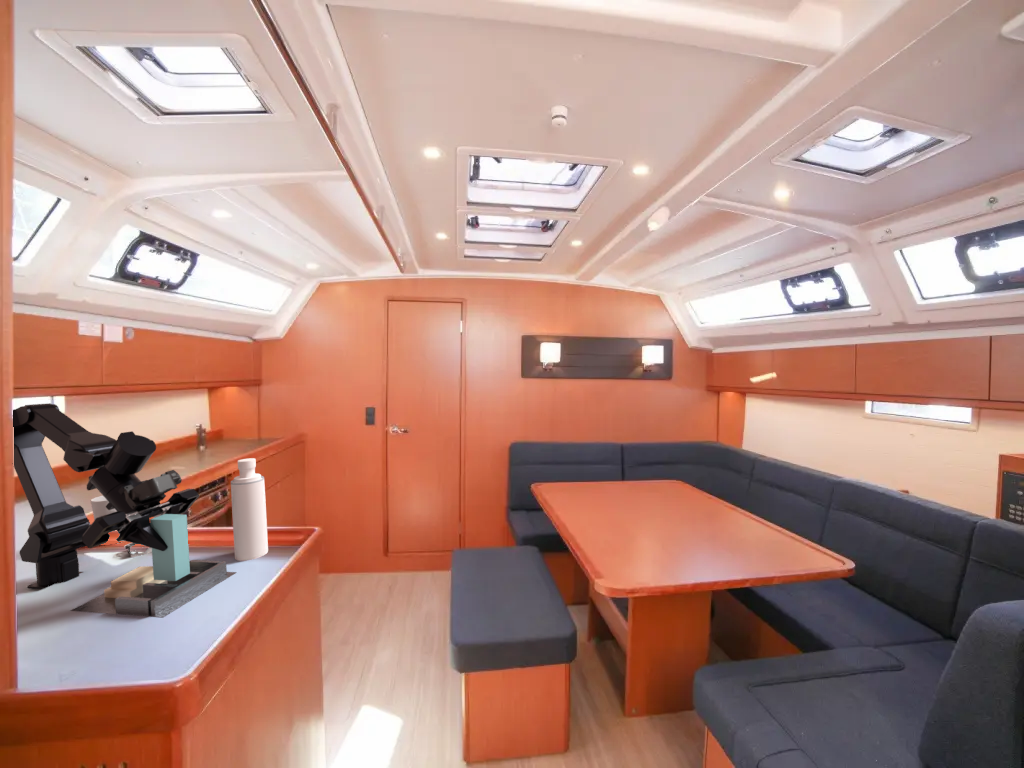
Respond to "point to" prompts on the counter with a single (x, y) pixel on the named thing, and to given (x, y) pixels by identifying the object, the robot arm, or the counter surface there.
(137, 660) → the counter surface
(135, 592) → the lower offcut
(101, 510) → the cup
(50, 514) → the robot arm
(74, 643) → the counter surface
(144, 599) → the tray
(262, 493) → the white bottle
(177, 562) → the teal block
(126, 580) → the upper offcut
